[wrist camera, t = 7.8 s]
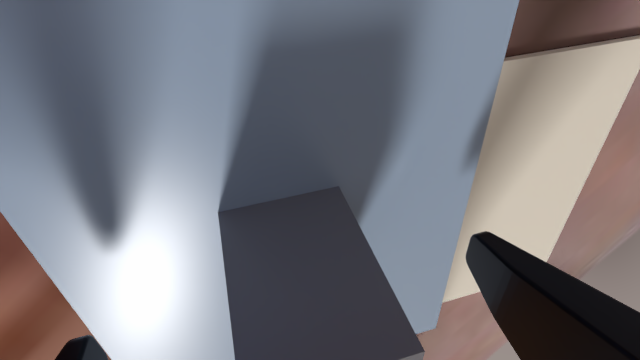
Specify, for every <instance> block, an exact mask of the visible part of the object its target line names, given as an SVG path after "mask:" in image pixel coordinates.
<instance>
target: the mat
mask: <svg viewBox="0 0 640 360" xmlns="http://www.w3.org/2000/svg"><path fill="white" fill-rule="evenodd" d="M639 69H640V35H638V36H632V37H626V38H620V39H614V40H608V41H602V42H596V43H590V44H584V45H578V46H572V47H566V48H560V49H554V50H548V51H542V52H536V53H530V54H524V55H518V56H512V57H506V58H504V62H503V66H502V70H501V74H500V78H499V82H498V86H497V90H496V93H495V97H494V101H493V105H492V109H491V113H490V117H489V121H488V125H487V129H486V133H485V137H484V140H483V144H482V148H481V152H480V156H479V160H478V164H477V168H476V172H475V176H474V180H473V184H472V187H471V191H470V195H469V199H468V203H467V207H466V211H465V215H464V219H463V223H462V227H461V231H460V234H459V238H458V242H457V246H456V250H455V254H454V258H453V262H452V266H451V270H450V274H449V278H448V281H447V285H446V289H445V293H444V297H443V301H442V303H443V302H447V301H450V300H453V299H457V298H460V297H464V296H467V295H470V294H474V293H477V292H481V291H480V289H479V287H478V285H477V283H476V281H475V279H474V277H473V275H472V273H471V271H470V269H469V267H468V265H467V263H466V252H467V248H468V245H469V241H470V238H471V236H472V235H473V234H476V233H480V232H484V231H488V232H491V233H493V234H495V235H496V236H498V237H500V238H502V239H504V240H506V241H508V242H510V243H511V244H513V245H515V246H517V247H519V248H521V249H523V250H524V251H526V252H528V253H530V254H532V255H534V256H536V257H537V258H539V259H541V260H543V261H545V262H547V260H548V258H549V256H550V254H551V252H552V250H553V248H554V246H555V244H556V242H557V240H558V237H559V235H560V233H561V231H562V229H563V227H564V225H565V223H566V221H567V219H568V217H569V215H570V213H571V210H572V208H573V206H574V204H575V202H576V200H577V198H578V196H579V194H580V192H581V190H582V188H583V185H584V183H585V181H586V179H587V177H588V175H589V173H590V171H591V169H592V167H593V165H594V163H595V161H596V158H597V156H598V154H599V152H600V150H601V148H602V146H603V144H604V142H605V140H606V138H607V136H608V133H609V131H610V129H611V127H612V125H613V123H614V121H615V119H616V117H617V115H618V113H619V111H620V109H621V106H622V104H623V102H624V100H625V98H626V96H627V94H628V92H629V90H630V88H631V86H632V84H633V81H634V79H635V77H636V75H637V73H638V71H639Z"/></svg>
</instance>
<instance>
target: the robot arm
mask: <svg viewBox="0 0 640 360" xmlns="http://www.w3.org/2000/svg"><path fill="white" fill-rule="evenodd" d="M466 263H467V265H468V267H469V269H470V271H471V273H472V275H473V277H474V279H475V281H476V283H477V285H478V287H479V289H480V291H481V293H482V295H483V297H484V299H485V301H486V303H487V305H488V307H489V309H490V311H491V313H492V315H493V317H494V318H495V320H496V322H497V323H498V325H499V327H500V328H501V330H502V331H503V333H504V334H505V336H506V337H507V339H508V341H509V342H510V344H511V345H512V347H513V348H514V350H515V352H516V353H517V355H518V356H519V358H520V359H521V360H640V312H638V311H636V310H634V309H632V308H630V307H628V306H627V305H625V304H623V303H621V302H619V301H617V300H615V299H613V298H612V297H610V296H608V295H606V294H604V293H602V292H601V291H599V290H597V289H595V288H593V287H591V286H589V285H588V284H586V283H584V282H582V281H580V280H578V279H576V278H575V277H573V276H571V275H569V274H567V273H565V272H563V271H562V270H560V269H558V268H556V267H554V266H552V265H550V264H549V263H547V262H545V261H543V260H541V259H539V258H537V257H536V256H534V255H532V254H530V253H528V252H526V251H524V250H523V249H521V248H519V247H517V246H515V245H513V244H511V243H510V242H508V241H506V240H504V239H502V238H500V237H498V236H496V235H495V234H493V233H491V232H488V231H484V232H480V233H476V234H473V235H472V236H471V238H470V241H469V245H468V248H467V252H466ZM55 360H108V358H107V355H106V353H105V352H104V350H103V349H102V348H101V347H100V345H99V344H98V343H97V341H96V340H95V339H94V337H93V336H90V335H86V336H82V337H79V338H75V339H72V340H70V341H68V342H67V343H66V344H65V346H64V347H63V349H62V350H61V351H60V353H59V354H58V356H57V357H56V359H55Z"/></svg>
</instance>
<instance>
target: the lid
mask: <svg viewBox="0 0 640 360" xmlns="http://www.w3.org/2000/svg"><path fill="white" fill-rule="evenodd" d="M518 3H519V0H0V212H1V213H2V214H3V216H4V217H5V218H6V220H7V221H8V222H9V224H10V225H11V226H12V228H13V229H14V230H15V232H16V233H17V234H18V236H19V237H20V238H21V240H22V241H23V242H24V244H25V245H26V246H27V248H28V249H29V250H30V252H31V253H32V254H33V256H34V257H35V258H36V260H37V261H38V262H39V263H40V265H41V266H42V267H43V269H44V270H45V271H46V273H47V274H48V275H49V277H50V278H51V279H52V281H53V282H54V283H55V285H56V286H57V287H58V289H59V290H60V291H61V293H62V294H63V295H64V297H65V298H66V299H67V301H68V302H69V303H70V305H71V306H72V307H73V309H74V310H75V311H76V313H77V314H78V315H79V317H80V318H81V319H82V321H83V322H84V323H85V325H86V326H87V327H88V329H89V330H90V331H91V333H92V334H93V335H94V337H95V338H96V339H97V341H98V342H99V343H100V345H101V346H102V347H103V349H104V350H105V351H106V353H107V354H108V355H109V357H110V358H111V359H112V360H423V356H424V352H425V351H424V349H423V347H422V345H421V343H420V341H419V340H418V338H417V336H416V334H418V333H421V332H425V331H428V330H431V329H434V328H436V325H437V321H438V317H439V313H440V309H441V305H442V301H443V297H444V293H445V289H446V285H447V281H448V278H449V274H450V270H451V266H452V262H453V258H454V254H455V250H456V246H457V242H458V238H459V234H460V231H461V227H462V223H463V219H464V215H465V211H466V207H467V203H468V199H469V195H470V191H471V187H472V184H473V180H474V176H475V172H476V168H477V164H478V160H479V156H480V152H481V148H482V144H483V140H484V137H485V133H486V129H487V125H488V121H489V117H490V113H491V109H492V105H493V101H494V97H495V93H496V90H497V86H498V82H499V78H500V74H501V70H502V66H503V62H504V58H505V54H506V50H507V46H508V43H509V39H510V35H511V31H512V27H513V23H514V19H515V15H516V11H517V7H518Z"/></svg>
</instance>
